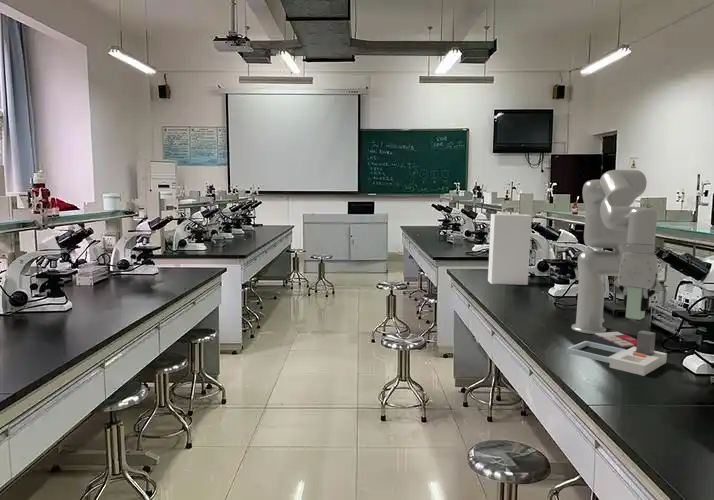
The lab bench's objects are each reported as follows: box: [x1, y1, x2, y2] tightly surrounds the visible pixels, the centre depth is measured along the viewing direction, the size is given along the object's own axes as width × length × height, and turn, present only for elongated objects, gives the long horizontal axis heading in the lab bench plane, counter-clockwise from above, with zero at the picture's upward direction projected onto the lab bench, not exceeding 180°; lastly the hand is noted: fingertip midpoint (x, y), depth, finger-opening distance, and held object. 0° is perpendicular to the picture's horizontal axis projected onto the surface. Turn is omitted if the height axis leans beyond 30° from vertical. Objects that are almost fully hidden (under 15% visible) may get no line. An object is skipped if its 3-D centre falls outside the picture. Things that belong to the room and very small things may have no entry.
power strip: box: [609, 347, 668, 377], centre depth 174 cm, size 19×10×5 cm, turn 133°
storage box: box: [487, 213, 533, 286], centre depth 324 cm, size 21×10×40 cm, turn 88°
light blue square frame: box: [566, 340, 626, 364], centre depth 186 cm, size 14×14×2 cm
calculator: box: [591, 331, 637, 350], centre depth 197 cm, size 11×4×15 cm
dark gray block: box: [636, 329, 656, 356], centre depth 177 cm, size 4×4×10 cm
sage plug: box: [625, 286, 646, 320], centre depth 169 cm, size 4×4×10 cm
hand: (635, 308), depth 169 cm, fingers closed on sage plug, 4 cm apart
